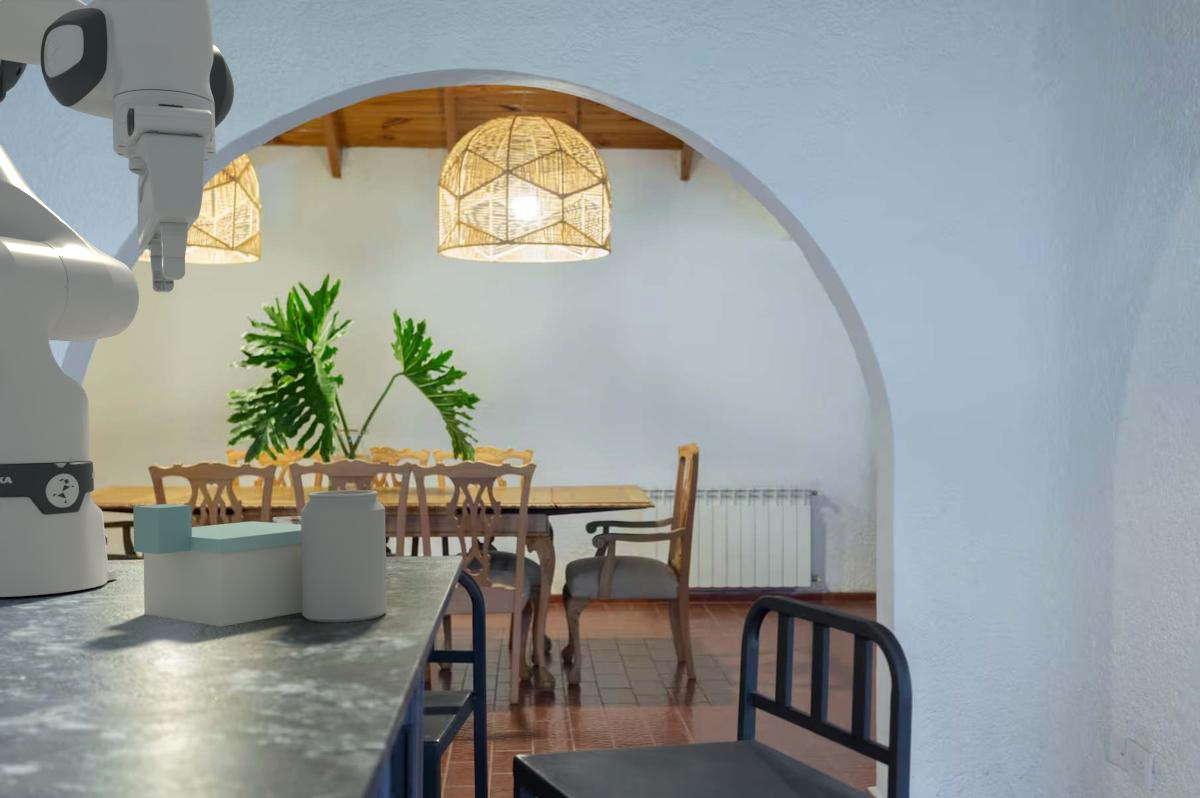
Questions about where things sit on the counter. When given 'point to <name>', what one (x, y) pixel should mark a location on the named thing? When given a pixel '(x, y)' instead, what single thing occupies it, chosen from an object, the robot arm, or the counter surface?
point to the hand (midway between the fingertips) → (168, 285)
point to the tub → (224, 585)
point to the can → (343, 556)
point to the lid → (203, 532)
